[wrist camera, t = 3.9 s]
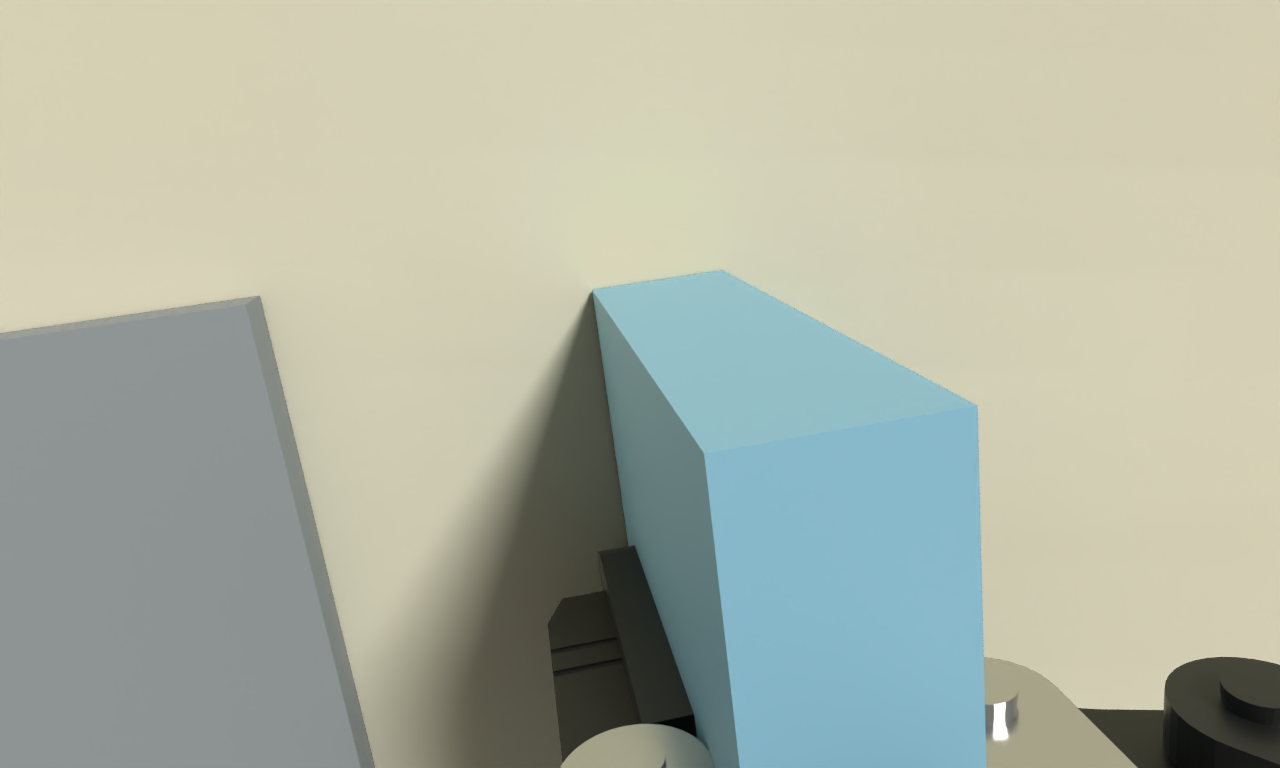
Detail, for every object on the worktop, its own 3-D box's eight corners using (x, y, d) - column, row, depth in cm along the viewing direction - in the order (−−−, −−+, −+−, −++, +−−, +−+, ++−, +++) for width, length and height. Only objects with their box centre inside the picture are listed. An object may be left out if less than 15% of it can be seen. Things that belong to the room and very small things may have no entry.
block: (722, 270, 11) (977, 406, 5) (777, 815, 13) (1001, 1341, 7) (592, 289, 11) (705, 453, 5) (670, 839, 13) (810, 1398, 7)
